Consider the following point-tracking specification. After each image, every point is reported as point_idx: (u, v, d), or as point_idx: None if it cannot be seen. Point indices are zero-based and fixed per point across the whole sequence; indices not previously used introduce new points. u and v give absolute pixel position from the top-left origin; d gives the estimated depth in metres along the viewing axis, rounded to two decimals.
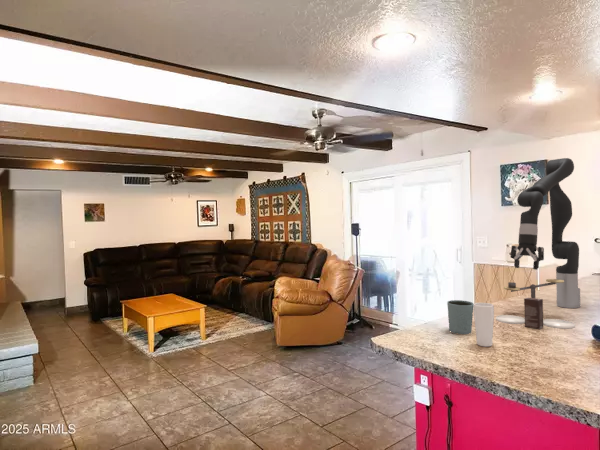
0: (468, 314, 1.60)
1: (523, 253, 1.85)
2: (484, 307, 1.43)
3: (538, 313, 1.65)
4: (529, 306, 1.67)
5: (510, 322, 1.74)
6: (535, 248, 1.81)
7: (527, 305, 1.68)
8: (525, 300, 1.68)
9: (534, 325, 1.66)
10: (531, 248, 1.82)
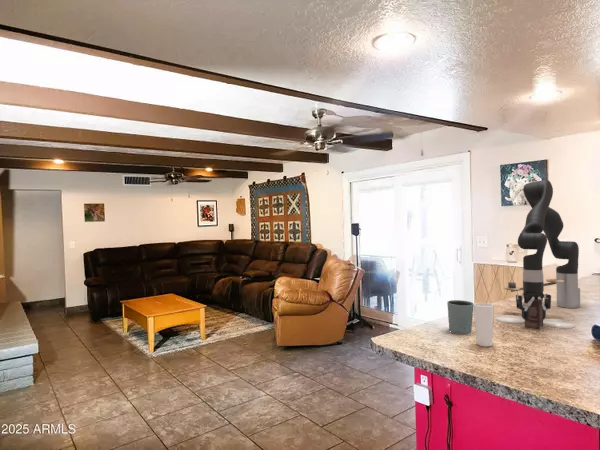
0: (468, 314, 1.60)
1: None
2: (484, 307, 1.43)
3: (538, 313, 1.65)
4: None
5: (510, 322, 1.74)
6: (544, 296, 1.67)
7: None
8: (525, 300, 1.68)
9: (534, 325, 1.66)
10: (541, 296, 1.67)
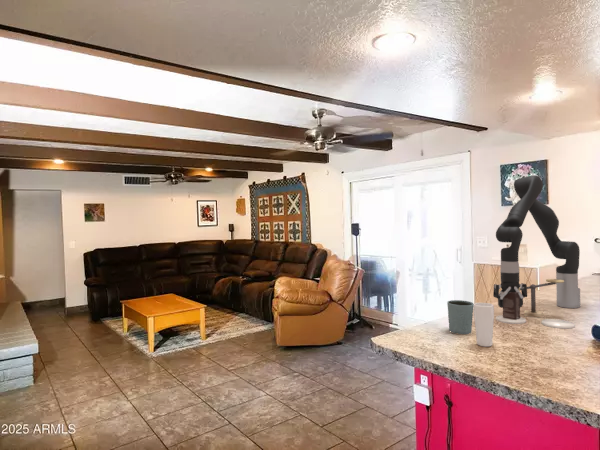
0: (468, 314, 1.60)
1: None
2: (484, 307, 1.43)
3: (515, 305, 1.76)
4: (506, 298, 1.79)
5: (510, 322, 1.74)
6: (520, 285, 1.78)
7: (505, 297, 1.79)
8: None
9: (511, 316, 1.77)
10: (517, 286, 1.78)
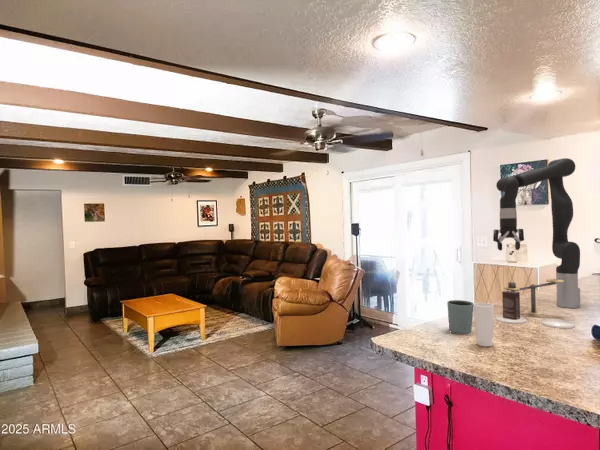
0: (468, 314, 1.60)
1: (507, 236, 1.97)
2: (484, 307, 1.43)
3: (515, 305, 1.76)
4: (506, 298, 1.79)
5: (510, 322, 1.74)
6: (517, 230, 1.97)
7: (505, 297, 1.79)
8: (503, 293, 1.80)
9: (511, 316, 1.77)
10: (514, 230, 1.97)
